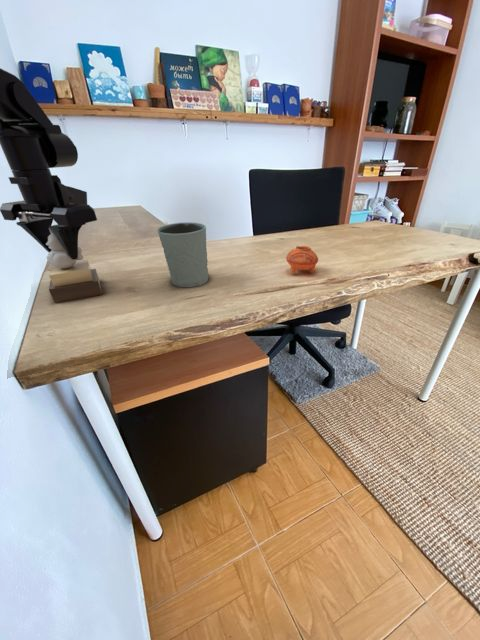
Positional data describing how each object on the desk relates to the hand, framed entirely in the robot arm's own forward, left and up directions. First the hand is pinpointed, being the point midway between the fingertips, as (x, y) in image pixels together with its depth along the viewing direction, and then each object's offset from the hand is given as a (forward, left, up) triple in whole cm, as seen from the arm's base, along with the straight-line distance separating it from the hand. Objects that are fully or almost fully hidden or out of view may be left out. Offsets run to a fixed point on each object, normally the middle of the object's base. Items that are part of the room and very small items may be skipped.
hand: (65, 257), depth 61 cm
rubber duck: (0, 0, -2) cm, 2 cm away
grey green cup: (+14, -20, -8) cm, 26 cm away
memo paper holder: (0, 0, -8) cm, 8 cm away
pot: (+29, -43, -8) cm, 52 cm away
